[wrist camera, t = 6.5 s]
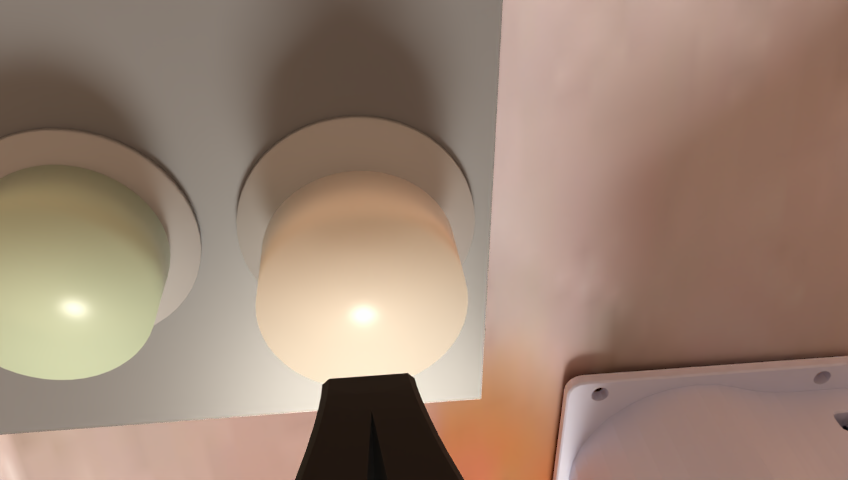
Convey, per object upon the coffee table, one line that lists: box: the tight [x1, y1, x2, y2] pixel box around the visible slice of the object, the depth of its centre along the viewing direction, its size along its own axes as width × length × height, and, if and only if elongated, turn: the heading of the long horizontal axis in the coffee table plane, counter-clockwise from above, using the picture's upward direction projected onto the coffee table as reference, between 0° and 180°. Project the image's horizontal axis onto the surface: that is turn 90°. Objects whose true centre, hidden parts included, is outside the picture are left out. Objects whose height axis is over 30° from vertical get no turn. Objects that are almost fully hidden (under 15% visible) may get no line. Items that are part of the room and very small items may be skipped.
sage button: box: [0, 165, 171, 380], centre depth 16 cm, size 4×4×2 cm
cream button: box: [256, 171, 468, 384], centre depth 16 cm, size 4×4×2 cm
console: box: [0, 0, 503, 435], centre depth 18 cm, size 18×11×3 cm, turn 90°
